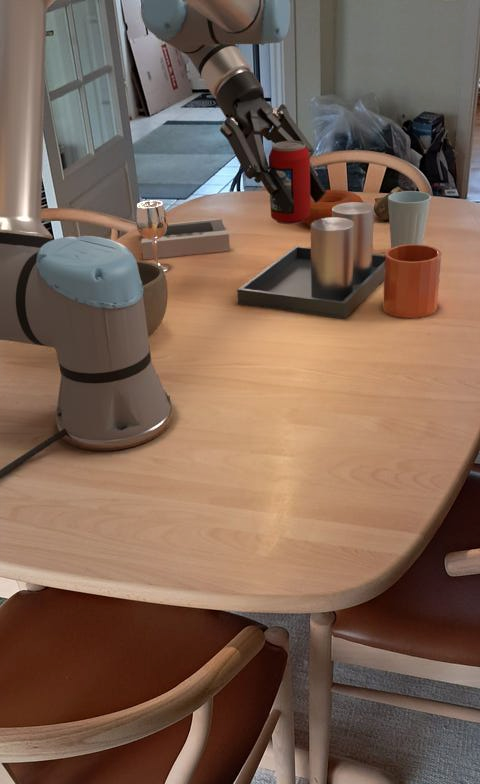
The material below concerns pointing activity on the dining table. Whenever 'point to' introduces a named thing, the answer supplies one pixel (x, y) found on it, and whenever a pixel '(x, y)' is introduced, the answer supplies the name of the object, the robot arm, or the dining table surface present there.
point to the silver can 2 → (359, 236)
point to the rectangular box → (189, 239)
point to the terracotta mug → (411, 280)
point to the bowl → (153, 293)
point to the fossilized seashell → (384, 205)
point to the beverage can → (291, 180)
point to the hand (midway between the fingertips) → (305, 202)
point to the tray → (303, 287)
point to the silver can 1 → (332, 258)
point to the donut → (329, 204)
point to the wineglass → (152, 223)
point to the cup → (408, 217)
